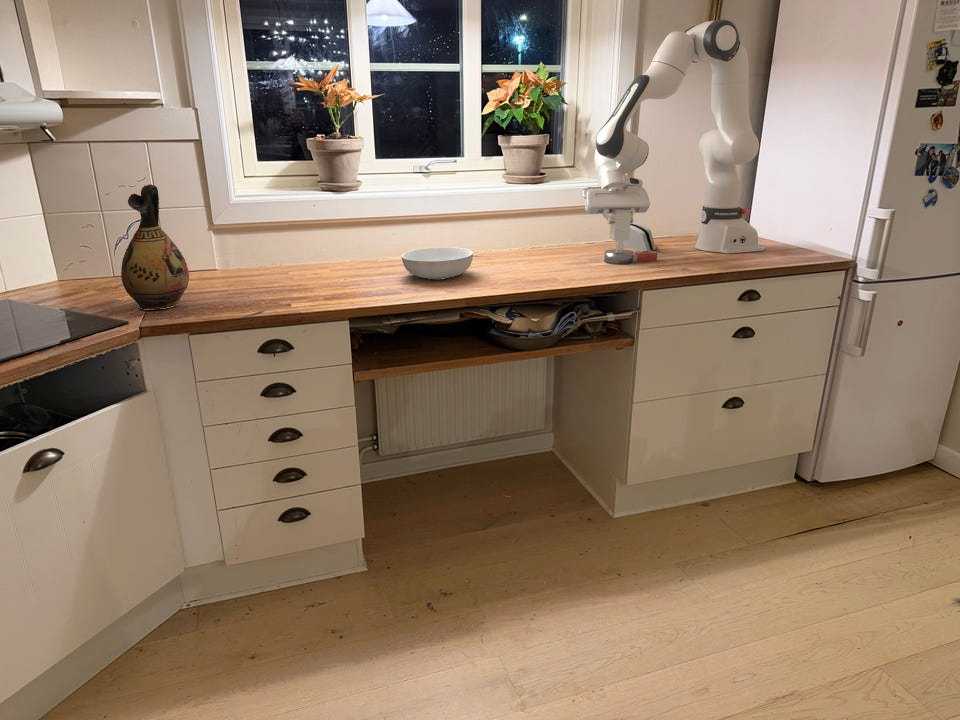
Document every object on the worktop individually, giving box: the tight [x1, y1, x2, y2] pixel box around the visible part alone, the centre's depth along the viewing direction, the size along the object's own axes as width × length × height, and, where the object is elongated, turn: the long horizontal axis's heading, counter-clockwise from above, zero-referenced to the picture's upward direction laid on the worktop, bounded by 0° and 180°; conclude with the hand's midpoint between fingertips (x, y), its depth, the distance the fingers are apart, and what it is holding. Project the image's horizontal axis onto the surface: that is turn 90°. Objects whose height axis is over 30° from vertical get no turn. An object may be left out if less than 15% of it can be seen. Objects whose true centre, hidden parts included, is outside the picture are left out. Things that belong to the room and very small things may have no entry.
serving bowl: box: [401, 246, 474, 280], centre depth 199 cm, size 21×21×7 cm
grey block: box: [609, 209, 631, 241], centre depth 212 cm, size 5×5×9 cm
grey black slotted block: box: [623, 221, 660, 252], centre depth 234 cm, size 17×5×10 cm, turn 27°
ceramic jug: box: [120, 183, 190, 309], centre depth 169 cm, size 17×15×30 cm
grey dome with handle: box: [603, 240, 659, 265], centre depth 215 cm, size 16×9×8 cm, turn 97°
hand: (620, 222), depth 211 cm, fingers closed on grey block, 5 cm apart
